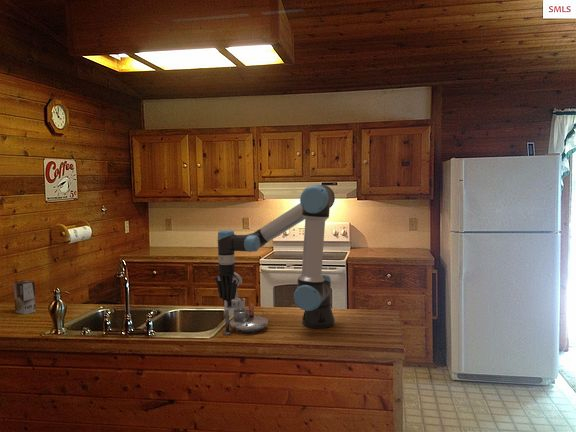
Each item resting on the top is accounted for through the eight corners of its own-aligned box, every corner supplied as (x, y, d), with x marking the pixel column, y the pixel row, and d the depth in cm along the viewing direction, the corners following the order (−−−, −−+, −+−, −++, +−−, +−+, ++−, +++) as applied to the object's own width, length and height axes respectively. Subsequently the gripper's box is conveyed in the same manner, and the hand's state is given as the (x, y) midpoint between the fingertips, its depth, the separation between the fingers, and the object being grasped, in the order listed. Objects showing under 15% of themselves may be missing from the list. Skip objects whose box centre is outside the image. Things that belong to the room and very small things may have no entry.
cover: (252, 318, 217) (251, 307, 216) (242, 322, 211) (242, 311, 210) (240, 316, 220) (240, 305, 220) (230, 320, 215) (230, 308, 214)
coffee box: (36, 311, 250) (35, 281, 249) (24, 314, 244) (22, 283, 243) (27, 309, 255) (25, 280, 254) (14, 312, 249) (13, 282, 248)
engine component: (243, 314, 239) (246, 309, 249) (242, 274, 238) (246, 270, 248) (222, 314, 240) (226, 309, 250) (221, 274, 239) (225, 270, 249)
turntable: (275, 322, 215) (275, 306, 215) (251, 332, 201) (251, 314, 201) (246, 317, 225) (246, 301, 225) (222, 326, 211) (221, 309, 211)
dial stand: (225, 335, 205) (225, 309, 204) (221, 333, 208) (220, 307, 207) (234, 333, 207) (234, 307, 206) (230, 331, 210) (229, 306, 210)
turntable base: (267, 328, 215) (267, 323, 215) (251, 335, 205) (251, 330, 205) (247, 324, 222) (247, 320, 222) (230, 330, 212) (230, 326, 212)
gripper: (210, 263, 219) (211, 313, 221) (231, 265, 212) (232, 317, 213) (221, 261, 226) (222, 310, 227) (242, 263, 218) (243, 313, 220)
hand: (227, 313), depth 220 cm, fingers closed
